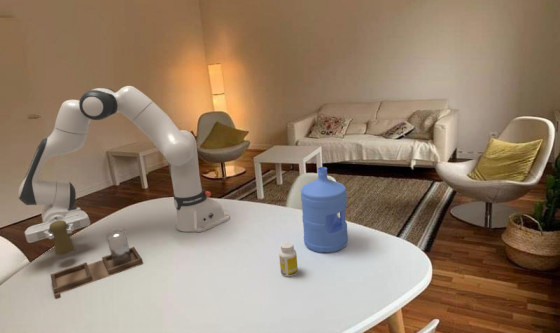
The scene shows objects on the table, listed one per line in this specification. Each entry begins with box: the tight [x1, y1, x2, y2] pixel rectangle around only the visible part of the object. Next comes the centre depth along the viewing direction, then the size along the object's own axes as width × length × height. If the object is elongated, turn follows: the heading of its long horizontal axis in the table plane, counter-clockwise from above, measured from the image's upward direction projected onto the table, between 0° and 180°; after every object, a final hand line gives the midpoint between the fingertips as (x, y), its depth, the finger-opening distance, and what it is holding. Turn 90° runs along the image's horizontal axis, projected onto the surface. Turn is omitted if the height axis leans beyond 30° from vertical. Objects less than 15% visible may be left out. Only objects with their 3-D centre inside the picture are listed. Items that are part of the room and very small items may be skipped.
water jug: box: [300, 166, 349, 253], centre depth 135 cm, size 16×16×28 cm
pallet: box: [50, 246, 144, 299], centre depth 131 cm, size 27×13×3 cm, turn 123°
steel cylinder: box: [106, 228, 132, 266], centre depth 134 cm, size 6×6×11 cm
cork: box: [50, 220, 76, 256], centre depth 134 cm, size 6×6×11 cm
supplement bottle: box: [278, 241, 299, 277], centre depth 121 cm, size 5×5×10 cm
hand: (60, 234), depth 133 cm, fingers closed on cork, 4 cm apart
